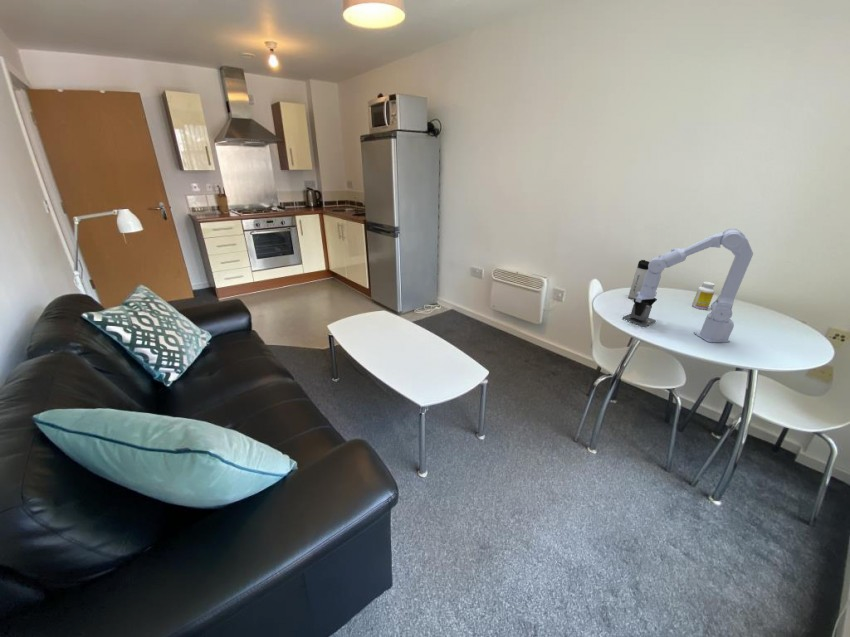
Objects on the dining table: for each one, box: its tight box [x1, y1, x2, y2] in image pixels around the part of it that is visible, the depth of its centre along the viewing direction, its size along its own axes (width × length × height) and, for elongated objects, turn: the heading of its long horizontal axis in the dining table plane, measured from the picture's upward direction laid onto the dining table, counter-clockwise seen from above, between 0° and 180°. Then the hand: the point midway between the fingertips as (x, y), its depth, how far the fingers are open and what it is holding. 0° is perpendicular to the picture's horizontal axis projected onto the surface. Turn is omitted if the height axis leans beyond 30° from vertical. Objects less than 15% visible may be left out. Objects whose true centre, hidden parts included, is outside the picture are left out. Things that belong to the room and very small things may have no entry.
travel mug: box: [627, 259, 650, 301], centre depth 182 cm, size 6×7×20 cm
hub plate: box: [622, 313, 657, 328], centre depth 159 cm, size 10×10×4 cm
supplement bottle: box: [691, 281, 716, 310], centre depth 175 cm, size 7×7×13 cm
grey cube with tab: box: [630, 303, 653, 321], centre depth 158 cm, size 5×5×6 cm
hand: (640, 313), depth 159 cm, fingers closed on grey cube with tab, 5 cm apart
